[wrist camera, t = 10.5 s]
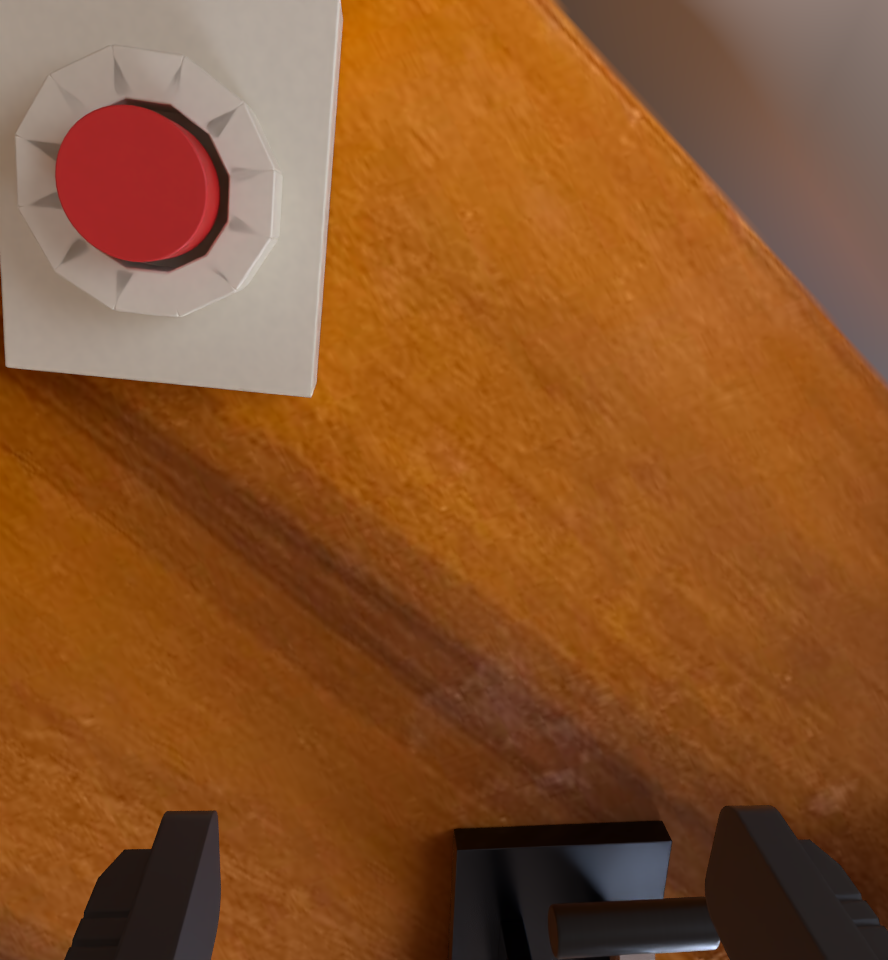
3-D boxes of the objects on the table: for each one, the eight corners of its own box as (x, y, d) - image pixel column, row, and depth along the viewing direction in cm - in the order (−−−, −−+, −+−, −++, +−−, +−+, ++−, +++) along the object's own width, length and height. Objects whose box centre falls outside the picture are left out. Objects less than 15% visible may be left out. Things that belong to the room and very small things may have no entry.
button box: (20, -35, 22) (-54, -91, 18) (343, 17, 23) (338, -25, 19) (34, 356, 25) (-26, 378, 21) (316, 384, 26) (307, 411, 22)
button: (78, 104, 20) (51, 93, 18) (222, 125, 20) (210, 116, 19) (81, 251, 21) (56, 253, 19) (218, 267, 21) (205, 270, 20)
